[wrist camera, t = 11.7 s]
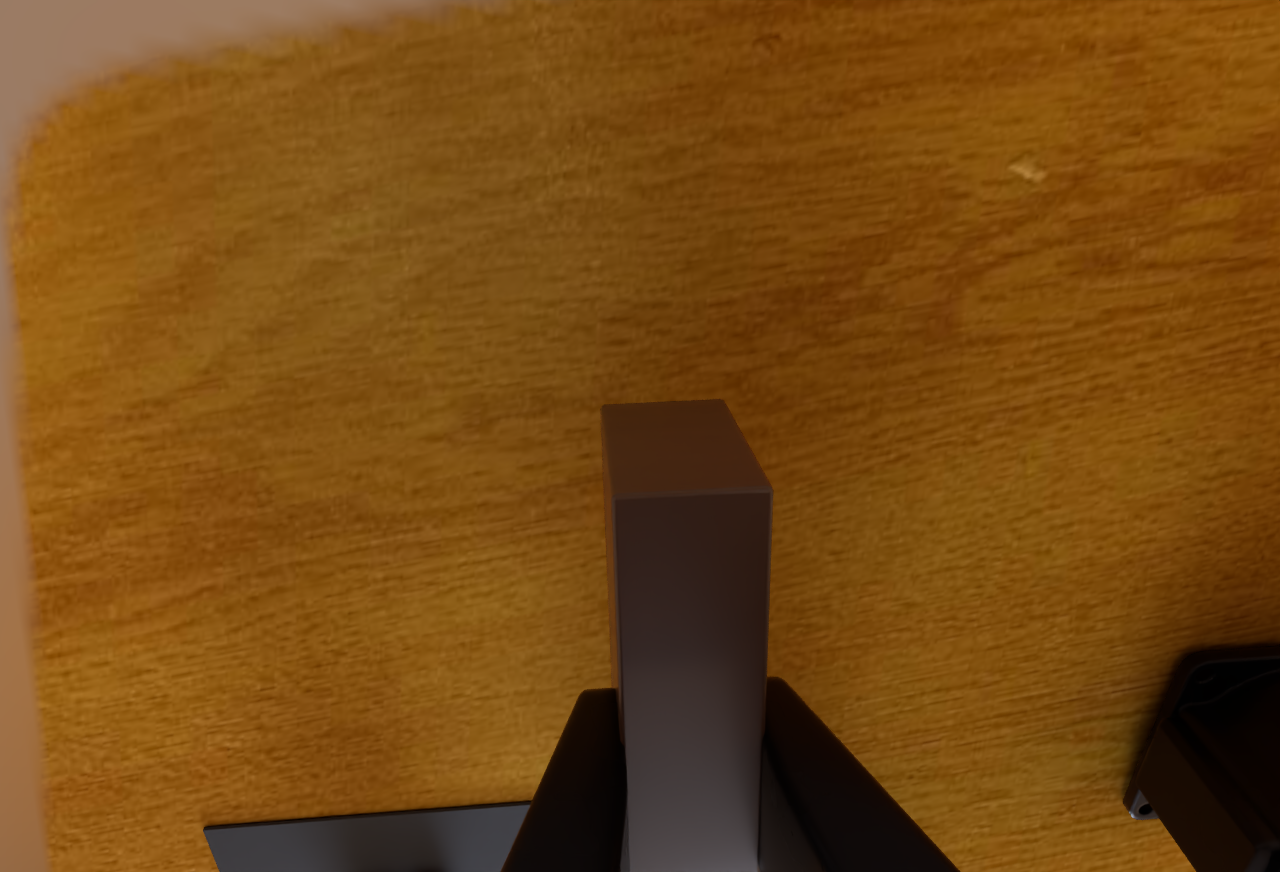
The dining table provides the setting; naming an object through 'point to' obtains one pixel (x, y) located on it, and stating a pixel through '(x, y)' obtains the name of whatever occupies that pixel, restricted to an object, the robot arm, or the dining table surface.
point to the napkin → (374, 842)
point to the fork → (688, 629)
